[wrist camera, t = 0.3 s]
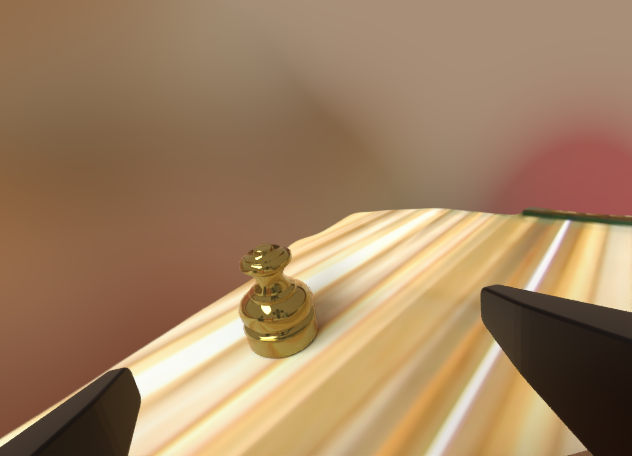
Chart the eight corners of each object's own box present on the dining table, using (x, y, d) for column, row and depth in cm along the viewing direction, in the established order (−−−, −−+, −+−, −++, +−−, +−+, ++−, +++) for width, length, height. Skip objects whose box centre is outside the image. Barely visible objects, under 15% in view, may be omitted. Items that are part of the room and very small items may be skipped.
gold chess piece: (240, 364, 31) (211, 272, 27) (255, 315, 38) (234, 236, 34) (318, 356, 31) (299, 261, 27) (319, 307, 37) (304, 226, 34)
